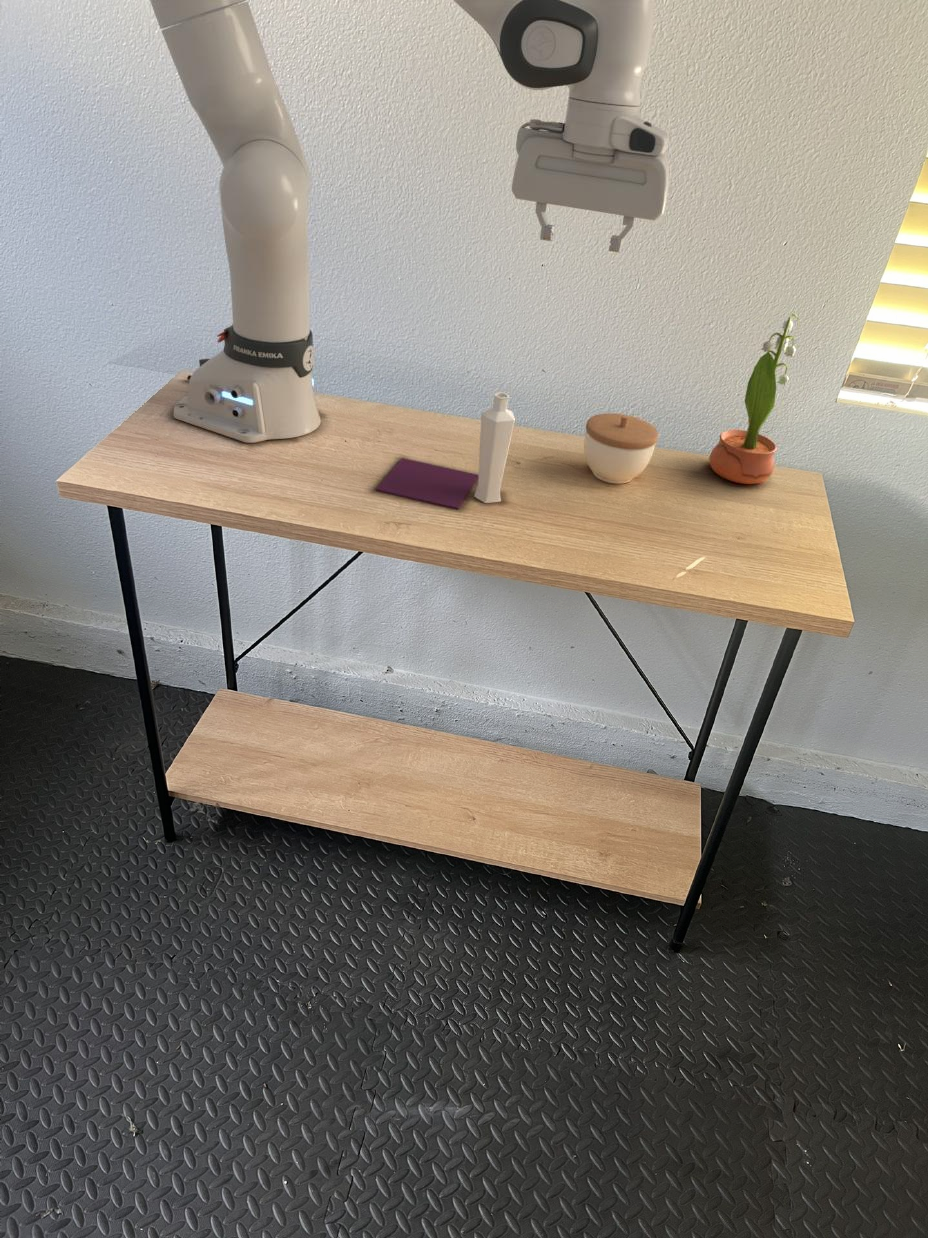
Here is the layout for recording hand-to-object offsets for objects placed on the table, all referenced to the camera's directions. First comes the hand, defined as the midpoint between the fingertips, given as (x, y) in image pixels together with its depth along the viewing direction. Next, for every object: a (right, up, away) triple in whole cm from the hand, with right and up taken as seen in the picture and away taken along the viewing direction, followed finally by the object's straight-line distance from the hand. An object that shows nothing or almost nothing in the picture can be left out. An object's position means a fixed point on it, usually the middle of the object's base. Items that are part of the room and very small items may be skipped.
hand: (580, 245), depth 115 cm
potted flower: (+28, -27, +21) cm, 45 cm away
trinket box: (+7, -28, +16) cm, 33 cm away
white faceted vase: (-12, -33, +6) cm, 36 cm away
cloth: (-21, -31, +7) cm, 38 cm away
